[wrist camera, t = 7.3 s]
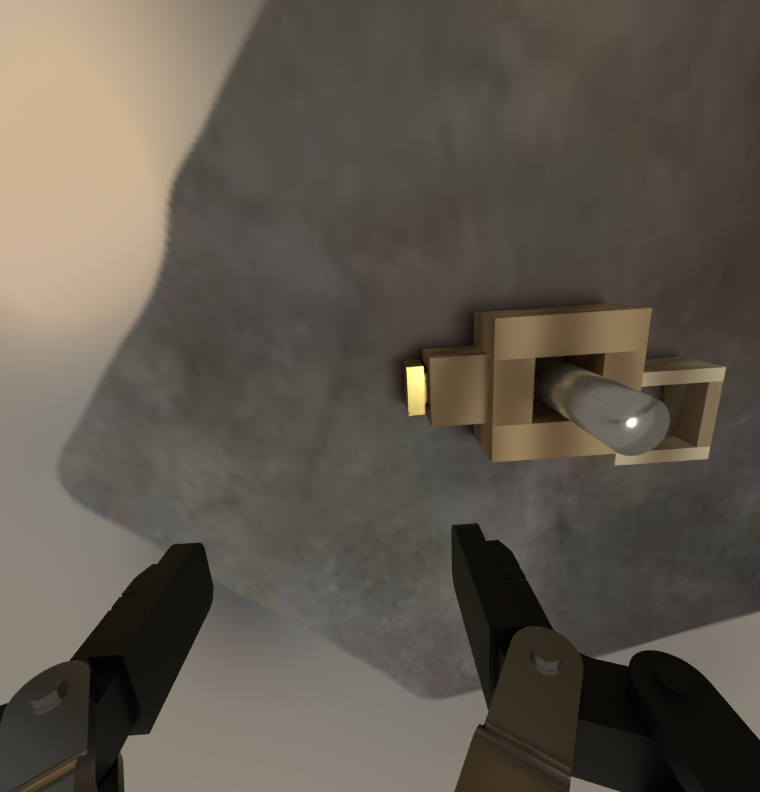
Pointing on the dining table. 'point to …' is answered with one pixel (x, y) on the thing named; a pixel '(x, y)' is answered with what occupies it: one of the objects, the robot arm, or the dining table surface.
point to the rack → (682, 409)
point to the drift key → (415, 386)
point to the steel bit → (602, 406)
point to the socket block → (532, 375)
